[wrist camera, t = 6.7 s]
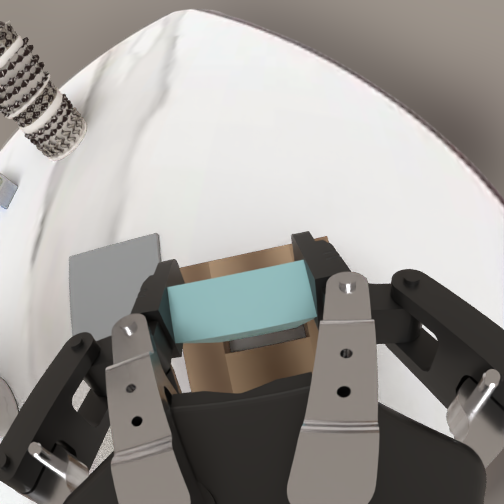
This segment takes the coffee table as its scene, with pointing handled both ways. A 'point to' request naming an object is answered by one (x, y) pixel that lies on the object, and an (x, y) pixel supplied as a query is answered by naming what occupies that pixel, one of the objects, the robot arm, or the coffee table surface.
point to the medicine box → (6, 191)
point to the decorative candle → (36, 99)
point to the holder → (252, 360)
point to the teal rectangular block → (242, 304)
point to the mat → (109, 283)
